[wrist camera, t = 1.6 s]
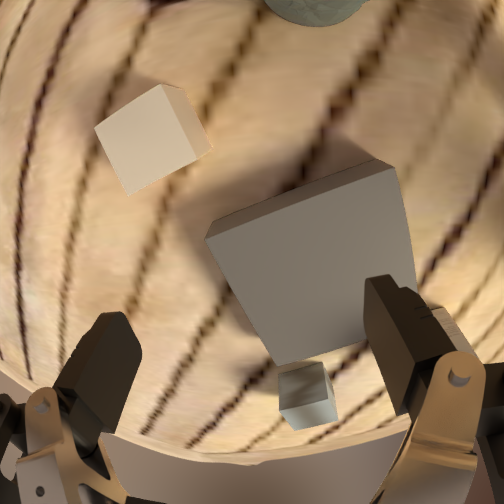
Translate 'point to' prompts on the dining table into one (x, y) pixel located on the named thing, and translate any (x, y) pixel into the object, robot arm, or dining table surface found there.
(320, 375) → the grey cube
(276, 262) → the plinth
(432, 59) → the dining table surface
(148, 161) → the white cube
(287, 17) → the green cup
